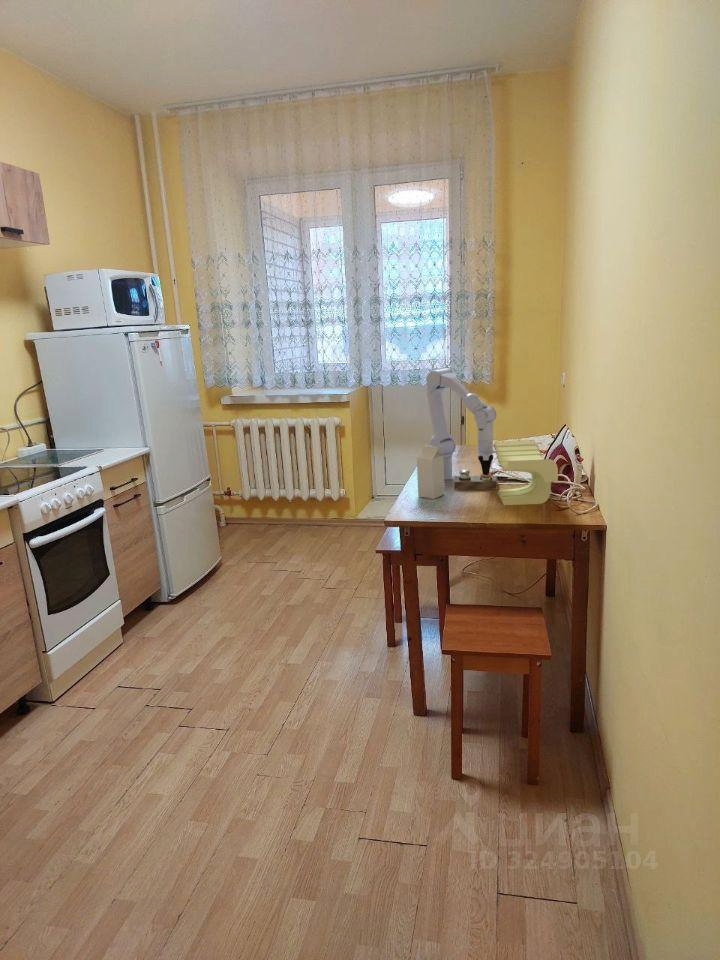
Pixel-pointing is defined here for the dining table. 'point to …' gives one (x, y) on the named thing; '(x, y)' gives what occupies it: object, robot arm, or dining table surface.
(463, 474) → the grey plunger
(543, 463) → the slatted curved stool
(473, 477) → the console
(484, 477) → the copper push button
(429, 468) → the milk carton
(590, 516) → the dining table surface
